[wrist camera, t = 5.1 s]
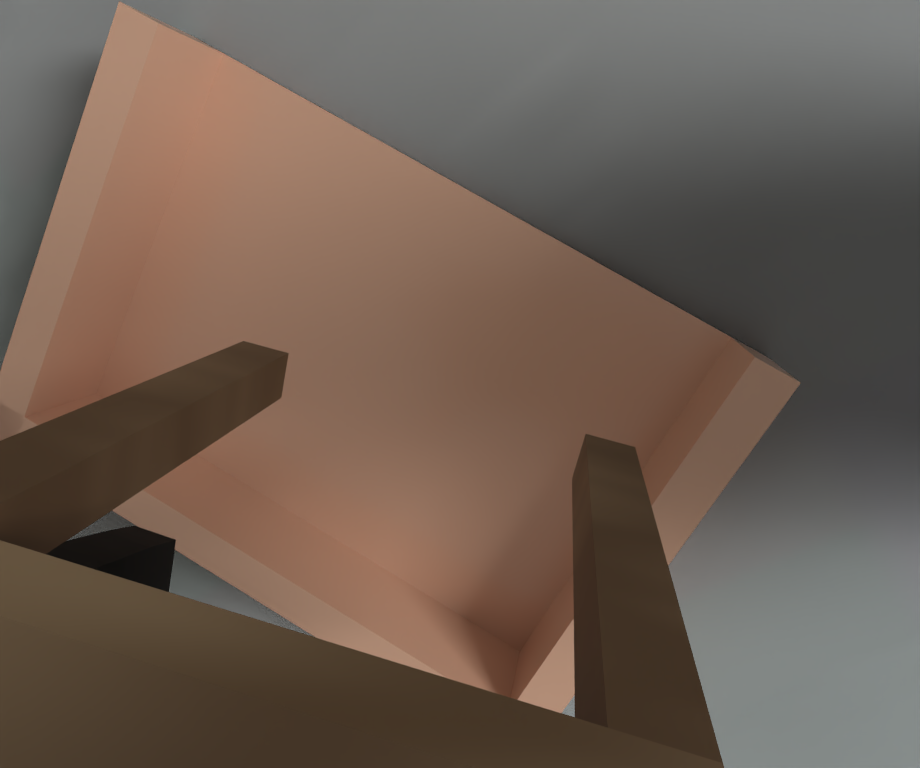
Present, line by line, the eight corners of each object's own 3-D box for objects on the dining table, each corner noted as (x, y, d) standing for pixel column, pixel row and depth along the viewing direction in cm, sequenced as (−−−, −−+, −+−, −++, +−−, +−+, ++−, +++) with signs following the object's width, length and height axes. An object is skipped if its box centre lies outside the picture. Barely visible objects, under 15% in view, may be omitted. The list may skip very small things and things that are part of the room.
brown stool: (634, 446, 9) (748, 855, 3) (528, 771, 11) (481, 1428, 5) (243, 340, 10) (-240, 539, 4) (196, 666, 12) (-198, 1152, 6)
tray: (767, 357, 16) (801, 382, 13) (534, 690, 19) (522, 765, 16) (195, 37, 17) (119, 1, 14) (64, 402, 20) (-19, 429, 17)
